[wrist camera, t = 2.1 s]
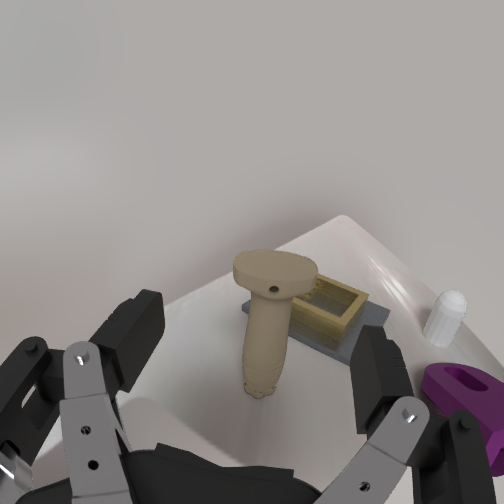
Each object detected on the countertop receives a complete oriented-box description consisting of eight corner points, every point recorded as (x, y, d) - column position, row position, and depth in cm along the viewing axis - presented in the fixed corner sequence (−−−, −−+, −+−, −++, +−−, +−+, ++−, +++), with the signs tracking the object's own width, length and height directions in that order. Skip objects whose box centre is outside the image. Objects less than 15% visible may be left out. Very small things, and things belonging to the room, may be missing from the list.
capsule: (425, 321, 40) (443, 278, 37) (452, 333, 37) (472, 290, 34) (419, 339, 36) (440, 293, 33) (449, 352, 33) (472, 307, 30)
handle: (232, 368, 31) (238, 246, 25) (289, 374, 31) (314, 254, 24) (225, 402, 27) (228, 275, 20) (288, 408, 26) (321, 284, 20)
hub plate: (388, 315, 42) (395, 296, 40) (357, 369, 32) (366, 348, 30) (293, 275, 51) (296, 257, 50) (241, 310, 41) (243, 289, 40)
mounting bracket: (396, 419, 30) (447, 507, 12) (414, 362, 30) (492, 432, 12) (451, 416, 29) (513, 483, 11) (469, 362, 29) (552, 413, 11)
